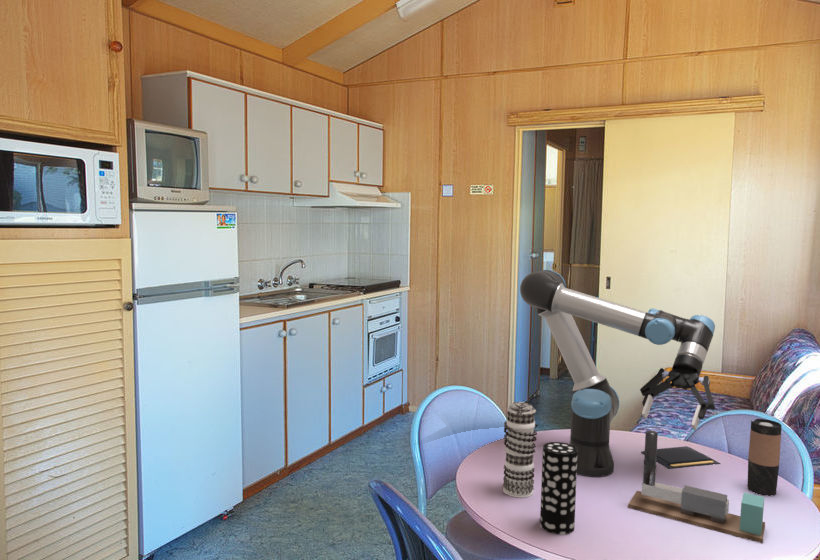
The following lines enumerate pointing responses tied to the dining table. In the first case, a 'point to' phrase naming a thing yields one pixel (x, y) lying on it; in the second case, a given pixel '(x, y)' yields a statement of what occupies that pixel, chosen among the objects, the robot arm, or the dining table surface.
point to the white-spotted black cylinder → (558, 487)
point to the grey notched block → (703, 503)
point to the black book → (682, 457)
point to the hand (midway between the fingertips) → (668, 421)
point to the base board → (698, 519)
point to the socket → (752, 513)
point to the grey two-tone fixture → (649, 474)
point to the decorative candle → (519, 450)
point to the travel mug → (764, 456)
